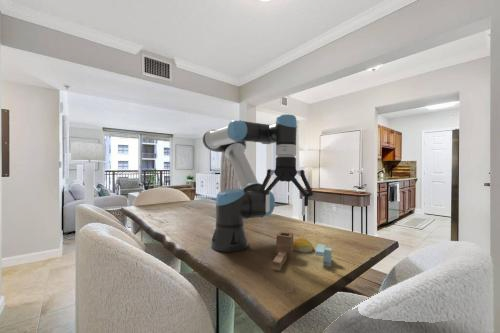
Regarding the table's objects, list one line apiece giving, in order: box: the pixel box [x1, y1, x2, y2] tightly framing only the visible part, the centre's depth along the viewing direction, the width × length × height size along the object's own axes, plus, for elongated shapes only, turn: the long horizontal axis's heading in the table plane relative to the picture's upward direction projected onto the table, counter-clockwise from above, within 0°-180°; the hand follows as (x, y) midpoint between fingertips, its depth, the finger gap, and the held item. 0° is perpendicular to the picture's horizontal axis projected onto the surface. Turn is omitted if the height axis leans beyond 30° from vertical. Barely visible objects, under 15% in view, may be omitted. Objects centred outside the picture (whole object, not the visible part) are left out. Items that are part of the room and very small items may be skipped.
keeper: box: [314, 243, 332, 268], centre depth 79 cm, size 5×8×5 cm, turn 159°
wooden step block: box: [271, 231, 294, 271], centre depth 79 cm, size 15×5×8 cm, turn 159°
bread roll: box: [293, 237, 314, 254], centre depth 92 cm, size 8×9×4 cm
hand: (284, 213), depth 84 cm, fingers open, 13 cm apart
